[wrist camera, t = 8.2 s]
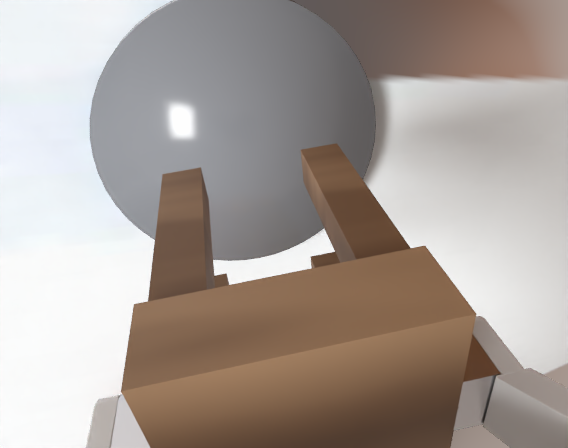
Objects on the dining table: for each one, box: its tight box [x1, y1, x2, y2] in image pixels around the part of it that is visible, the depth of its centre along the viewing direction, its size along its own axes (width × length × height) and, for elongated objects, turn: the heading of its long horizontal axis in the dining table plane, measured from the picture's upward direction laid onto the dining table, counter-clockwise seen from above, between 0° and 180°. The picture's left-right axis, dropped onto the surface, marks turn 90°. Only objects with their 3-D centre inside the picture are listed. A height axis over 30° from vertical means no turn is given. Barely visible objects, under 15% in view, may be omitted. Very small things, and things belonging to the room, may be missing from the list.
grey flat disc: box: [90, 0, 376, 261], centre depth 22 cm, size 14×14×1 cm
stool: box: [121, 143, 476, 448], centre depth 12 cm, size 6×6×8 cm
